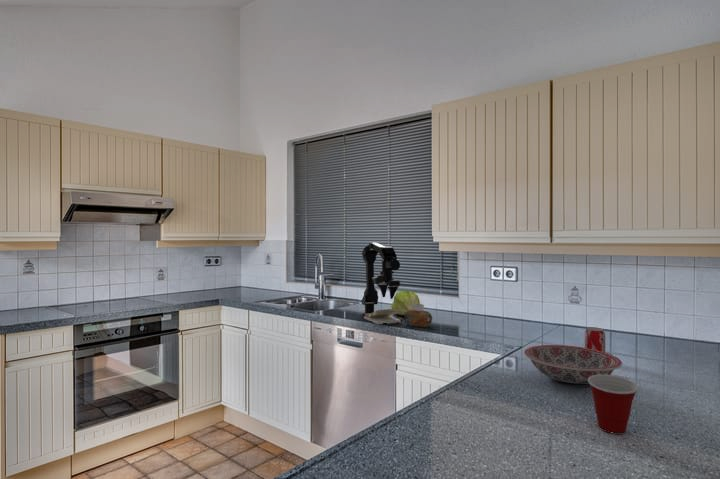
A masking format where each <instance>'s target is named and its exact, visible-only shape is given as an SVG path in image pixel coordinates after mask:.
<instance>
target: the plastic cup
mask: <svg viewBox="0 0 720 479" xmlns="http://www.w3.org/2000/svg"><path fill="white" fill-rule="evenodd" d="M588 382H589V384H588V385H590V389H591V393H592V399H593V403H594V404H593V405H594V410H595V415H596V420H597V425H598V428H599V427H600V428H601V429H603V430H606V431H609V432H613V433H624V432H625V433H626V431H627V427H628V424H629V423H628V422H629V419H630V415H631V410H632V406H633V401H634V397H635V394H636V392H638V391H639V385H638V384H637V383H636V382H634V381H632V380H630V379H628V378H625V377H622V376H618V375H612V374H610V375H601V374H599V375H593V376H591V377H589V378H588ZM600 428H599V429H600ZM601 429H600V430H601ZM603 430H602V431H603ZM625 433H624V434H625Z"/></svg>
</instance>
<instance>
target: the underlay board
mask: <svg viewBox="0 0 720 479" xmlns="http://www.w3.org/2000/svg"><path fill="white" fill-rule="evenodd" d="M369 314H371V313H368V314H365V315H364V316H363V319H365V320H367V321H369V322H371V321H372V323H374V324H376V325H384V324H383V323H387V324H396V323H397V322H398V323H402V322H401V319H398V318H396V317H393V316H391V315H389V316H380V317H368V315H369Z"/></svg>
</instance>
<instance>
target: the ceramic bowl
mask: <svg viewBox="0 0 720 479" xmlns="http://www.w3.org/2000/svg"><path fill="white" fill-rule="evenodd" d="M523 354H524V356H525V357H526V358H527V359H529V360H530V361H531V363H532V364H533V366H534V367H535V368H536V369H537V370H538V371H539V372H540V373H541V374H543V375H544V376H546V377H548V378H550V379H552V380H556V381H559V382H563V383H568V384H575V385H576V384H577V385H590V384H589V382H588V378H589V377H591V376H593V375H599V374H601V375H612V373H613V372H614V370H617V369H619V368H621V367H622V365H623V362H622V360H621V359H620V358H619V357H617V356H615V355H613V354H611V353H607V352H606V351H605V352H602V351H598V350H593V349H589V348H585V347H582V346H575V345H563V344H562V345H561V344H542V345H534V346H530V347H528V348H526V349H525V350H524V351H523Z"/></svg>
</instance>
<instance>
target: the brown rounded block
mask: <svg viewBox="0 0 720 479" xmlns="http://www.w3.org/2000/svg"><path fill="white" fill-rule="evenodd" d="M403 316H404V317H403V318H404V319H403V320H404V322H405V323H406V325H407V326H409V325H410V327H418V326H419V327H421V328H426V327H429V326H431V324H432V322H433V317H432V314H431V312H429V311H427V310H424V311H420V310H409V311H407V312H406V313H405V315H403Z"/></svg>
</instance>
